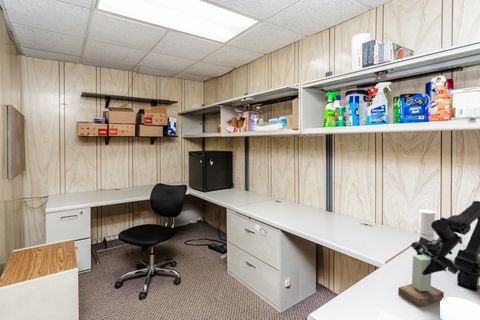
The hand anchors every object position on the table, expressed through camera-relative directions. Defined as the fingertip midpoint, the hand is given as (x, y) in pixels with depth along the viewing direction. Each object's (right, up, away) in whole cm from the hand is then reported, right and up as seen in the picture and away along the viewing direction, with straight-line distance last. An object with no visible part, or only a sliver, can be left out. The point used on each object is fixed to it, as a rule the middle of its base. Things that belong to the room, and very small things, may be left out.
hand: (418, 271), depth 107 cm
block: (+1, -7, +1) cm, 7 cm away
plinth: (+1, -11, +1) cm, 11 cm away
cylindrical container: (+31, -8, +40) cm, 51 cm away
